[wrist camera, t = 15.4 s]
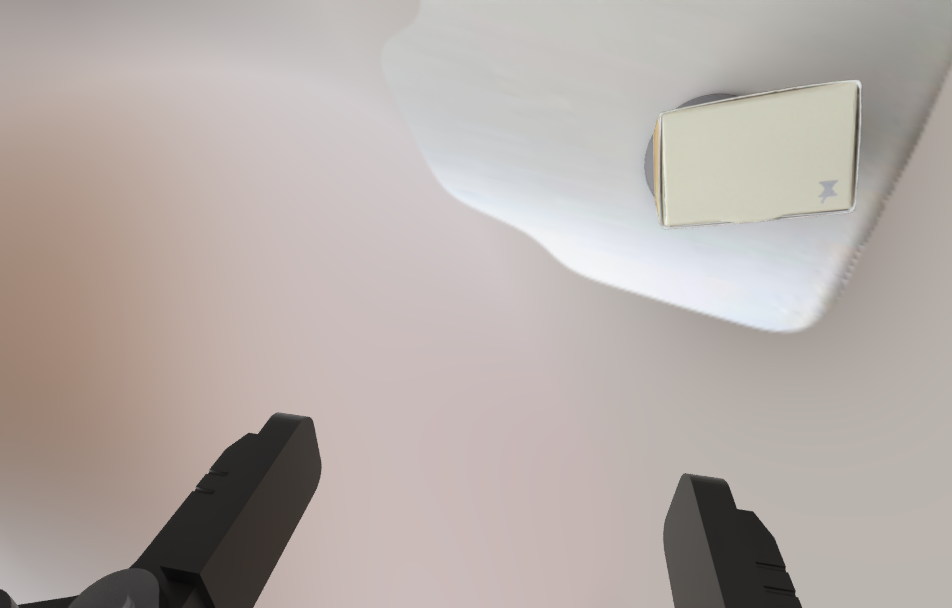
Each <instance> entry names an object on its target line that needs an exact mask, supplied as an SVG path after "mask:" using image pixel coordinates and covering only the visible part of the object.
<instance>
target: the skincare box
mask: <svg viewBox="0 0 952 608" xmlns="http://www.w3.org/2000/svg"><path fill="white" fill-rule="evenodd" d="M861 121H862V83H861V81H859V80H856V79H852V80H844V81H834V82H827V83H818V84H811V85H803V86H797V87H790V88H784V89H778V90H772V91H767V92H760V93H755V94H750V95H744V96H738V97H733V98H728V99H723V100H718V101H713V102H707V103H703V104H698V105H693V106H688V107H683V108H679V109H674V110H669V111H664V112H661V113H660V114H659V117H658V120H657V123H656V126H655V130H654V133H653V158H654V191H655V203H656V207H657V212H658V217H659V224H660V226H661V227H662V228H664V229H668V230H669V229H679V228H693V227H704V226H717V225H727V224H740V223H750V222H761V221H771V220H781V219H791V218H802V217H813V216H823V215H831V214H845V213H851V212H853V211H854V210H855V208H856V192H857V184H858V170H859V156H860V142H861Z"/></svg>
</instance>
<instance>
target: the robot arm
mask: <svg viewBox="0 0 952 608" xmlns="http://www.w3.org/2000/svg"><path fill="white" fill-rule="evenodd" d="M320 475H321V459H320V454H319V448H318V443H317V439H316V434H315V428H314V424H313V420H312V419H311V418H310V417H306V416H299V415H292V414H285V413H275V414H274V415H272V416H271V418H270V419H269V420H268V421H267V423H266V424H265V425H264V427H263V428H262V429H261V431H260V432H259V433H258V434H253V433H248V434H246V435H245V436H243V437H242V438H241V439H239V440H238V441H236V442H235V443H234V444H232V445H231V446H229V447H228V448H227V449H226V450H225V451H224V452H223V453H222V455H221V456H220V457H219V458H218V460H217V461H216V462H215V463H214V465H213V466H212V467H211V469H210V471H209V473H208V474H206V475H205V476H204V477H203V478H202V480H201V481H200V482H199V483H198V485H197V486H196V489H195V491H192V492H191V493H190V495H189V496H188V497H187V499H186V500H185V501H184V502H183V503H182V505H181V506H180V507H179V509H178V510H177V511H176V512H175V514H174V515H173V516H172V517H171V519H170V520H169V521H168V522H167V524H166V525H165V526H164V527H163V529H162V530H161V531H160V533H159V534H158V535H157V536H156V537H155V539H154V540H153V541H152V542H151V544H150V545H149V546H148V547H147V549H146V550H145V551H144V553H143V554H142V555H141V556H140V557H139V559H138V560H137V561H136V562H135V563H134V564H133V565H132V566H131V567H130V568H129V569H125V570H121V571H117V572H114V573H112V574H109V575H107V576H105V577H103V578H101V579H100V580H98V581H96V582H95V583H93V584H92V585H91V586H89V587H88V588H87V589H85V590H84V591H83V592H82V593H81V594H80V595H77V596H73V597H67V598H60V599H54V600H48V601H41V602H35V603H28V604H21V605H17V604H16V603H15V602H14V601H13V599H12V598H11V597H10V596H9V595H8V594H7V593H6V592H5V591H3V590H1V589H0V608H253V607H254V605H255V603H256V601H257V599H258V597H259V596H260V594H261V592H262V590H263V588H264V586H265V584H266V583H267V580H268V579H269V577H270V575H271V573H272V571H273V569H274V568H275V566H276V564H277V562H278V560H279V558H280V556H281V555H282V552H283V551H284V549H285V547H286V545H287V543H288V541H289V540H290V538H291V536H292V534H293V532H294V530H295V528H296V526H297V525H298V523H299V521H300V519H301V517H302V515H303V513H304V511H305V510H306V508H307V506H308V504H309V502H310V500H311V498H312V497H313V495H314V493H315V491H316V489H317V486H318V483H319V480H320ZM663 535H664V536H663V537H664V538H663V540H664V551H665V556H666V562H667V568H668V573H669V579H670V584H671V590H672V595H673V601H674V606H675V608H802V606H801V604H800V601H799V599H798V597H796V596H795V589H794V586H793V584H792V581H791V579H790V576H789V574H788V573H787V572H786V570H785V567H786V566H785V564H784V561H783V559H782V556H781V554H780V551H779V549H778V546H777V544H776V541H775V539H774V537H773V536H772V534H771V533H770V532H769V531H768V530H767V528H766V527H765V526H764V525H763V523H762V522H761V521H760V520H759V518H758V517H757V516H756V515H755V513H754V512H752V511H746V510H739V509H737V508H736V505H735V502H734V499H733V496H732V494H731V491H730V488H729V485H728V484H727V482H726V481H725V480H724V479H720V478H714V477H707V476H699V475H693V474H686V473H685V474H683V475H682V476H681V478H680V481H679V484H678V486H677V489H676V492H675V494H674V497H673V500H672V502H671V505H670V508H669V510H668V513H667V516H666V519H665V523H664V533H663Z"/></svg>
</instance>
